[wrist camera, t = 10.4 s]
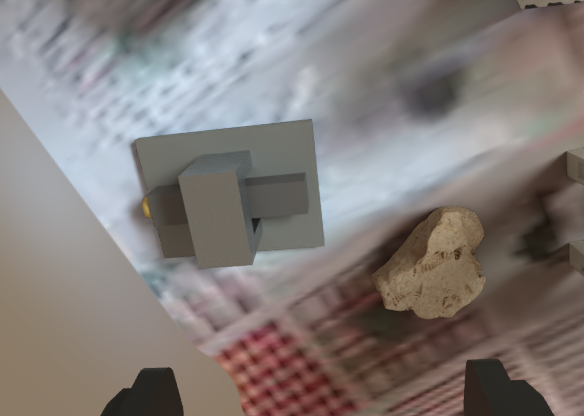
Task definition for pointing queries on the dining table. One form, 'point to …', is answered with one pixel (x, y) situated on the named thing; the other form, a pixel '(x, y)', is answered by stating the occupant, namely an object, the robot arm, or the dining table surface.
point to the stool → (580, 168)
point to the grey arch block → (220, 210)
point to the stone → (435, 266)
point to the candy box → (544, 3)
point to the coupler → (259, 182)
